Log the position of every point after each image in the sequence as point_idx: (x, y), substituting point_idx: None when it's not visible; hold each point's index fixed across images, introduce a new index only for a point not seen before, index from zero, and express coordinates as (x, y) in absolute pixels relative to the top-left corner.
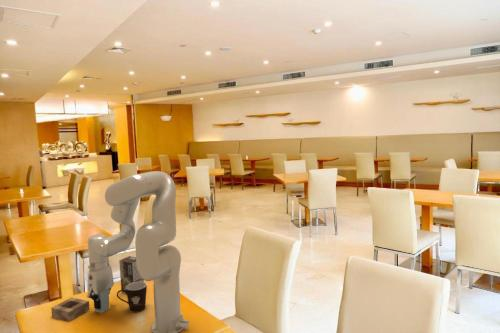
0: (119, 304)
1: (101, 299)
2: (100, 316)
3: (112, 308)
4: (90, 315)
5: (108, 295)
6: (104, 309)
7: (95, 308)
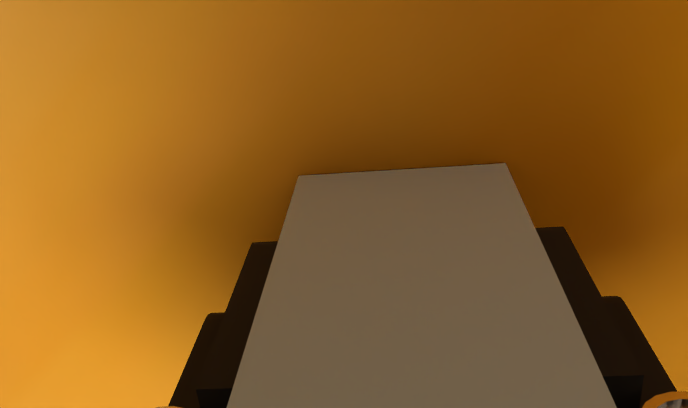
0: (59, 119)
1: (588, 358)
2: (649, 73)
3: (261, 117)
4: (665, 288)
5: (213, 385)
6: (436, 186)
7: None
